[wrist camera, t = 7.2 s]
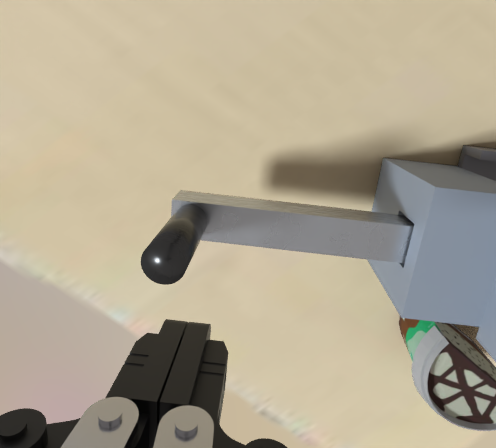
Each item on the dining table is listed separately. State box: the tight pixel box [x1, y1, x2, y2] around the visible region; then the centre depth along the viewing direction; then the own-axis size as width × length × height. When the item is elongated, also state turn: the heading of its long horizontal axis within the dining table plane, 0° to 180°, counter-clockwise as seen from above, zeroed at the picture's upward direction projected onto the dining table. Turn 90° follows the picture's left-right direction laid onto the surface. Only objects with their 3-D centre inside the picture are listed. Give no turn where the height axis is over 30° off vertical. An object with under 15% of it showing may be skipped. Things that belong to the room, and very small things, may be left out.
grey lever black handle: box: [141, 190, 414, 284], centre depth 27 cm, size 3×25×11 cm, turn 84°
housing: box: [367, 158, 496, 362], centre depth 32 cm, size 12×7×16 cm, turn 174°
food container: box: [399, 316, 496, 431], centre depth 39 cm, size 12×6×10 cm, turn 51°
